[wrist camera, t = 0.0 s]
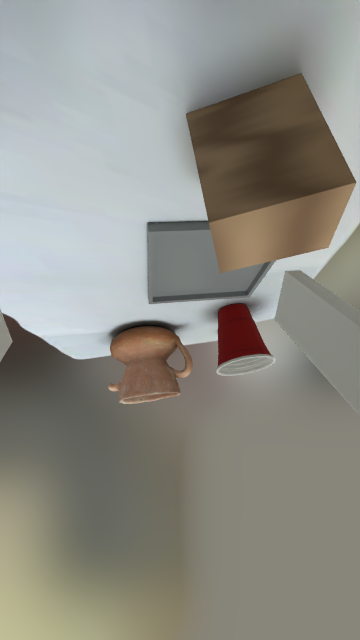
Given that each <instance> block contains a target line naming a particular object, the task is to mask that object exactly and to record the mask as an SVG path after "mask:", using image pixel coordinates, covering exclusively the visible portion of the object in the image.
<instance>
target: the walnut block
mask: <svg viewBox="0 0 360 640" xmlns="http://www.w3.org/2000/svg"><path fill="white" fill-rule="evenodd" d="M186 117H187V121H188V126H189V131H190V136H191V140H192V145H193V150H194V154H195V159H196V164H197V169H198V173H199V178H200V183H201V188H202V192H203V197H204V202H205V207H206V211H207V216H208V221H209V225H210V230H211V234H212V239H213V243H214V248H215V252H216V257H217V262H218V266H219V271H220V273H224V272H228V271H232V270H236V269H241V268H245V267H249V266H253V265H257V264H261V263H266V262H270V261H274V260H278V259H282V258H287V257H291V256H295V255H299V254H303V253H308V252H312V251H316V250H320V249H324V248H328V247H329V245H330V243H331V240H332V238H333V236H334V233H335V231H336V229H337V226H338V224H339V222H340V219H341V217H342V215H343V212H344V210H345V208H346V205H347V203H348V201H349V198H350V196H351V194H352V191H353V189H354V187H355V184H356V181H355V179H354V177H353V175H352V173H351V171H350V169H349V167H348V165H347V163H346V161H345V159H344V157H343V155H342V153H341V151H340V149H339V147H338V145H337V143H336V141H335V139H334V137H333V135H332V133H331V131H330V129H329V127H328V125H327V123H326V121H325V119H324V117H323V115H322V113H321V111H320V109H319V107H318V105H317V103H316V101H315V99H314V97H313V95H312V93H311V91H310V89H309V87H308V85H307V83H306V81H305V79H304V77H303V75H302V73H301V74H298V75H295V76H292V77H289V78H287V79H284V80H281V81H278V82H275V83H272V84H270V85H267V86H264V87H261V88H258V89H255V90H253V91H250V92H247V93H244V94H241V95H238V96H236V97H233V98H230V99H227V100H224V101H221V102H219V103H216V104H213V105H210V106H207V107H204V108H202V109H199V110H196V111H193V112H190V113H187V114H186Z"/></svg>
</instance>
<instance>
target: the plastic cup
mask: <svg viewBox="0 0 360 640" xmlns="http://www.w3.org/2000/svg"><path fill="white" fill-rule="evenodd" d="M218 349H219V350H218V353H219V355H218V367H217V370H216V373H217V374H219V375H224V376H234V375H242V374H247V373H252V372H256V371H259V370H262V369H264V368H267V367H268V366H270V365H272V364H273V363H274V362H275V361H276V360H275V358H274V357H273V356H272V355H271V354H270V353H269V351H268V349H267V347H266V346H265V344H264V342H263V340H262V338H261V335H260V333H259V331H258V329H257V326H256V324H255V322H254V320H253V319H252V316H251V314H250V312H249V309H248V308H247V306H246V305H244V304H231V305H228V306H225V307H223V308H221V309H220V310H219V312H218Z"/></svg>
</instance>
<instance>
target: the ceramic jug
mask: <svg viewBox="0 0 360 640" xmlns="http://www.w3.org/2000/svg"><path fill="white" fill-rule="evenodd" d="M177 347H179V349H180V350H181V352H182V353H183V355H184V358H185V361H186V362H185V363H186V366H185V369H184V370H182V371H178V370H175V369H173V368H171V367H169V365H168V364H167V362H166V360H167V359H168V357H169V356H170V355H171V354H172V353H173V352H174V351H175V350H176V349H177ZM110 351H111V356H112V357H114V358H116V359H117V360H119V361H121V362H123V363H124V364H126V365H127V367H126V370H125V373H124V376H123V379H122V381H121V382H119V383H118V384H115V385H114V384H110V385H109V389H110V390H111V391H118V390H120V392H119V402H120V403H121V402H122V403H123V404H130V403H131V404H132V403H141V402H148V401H155V400H159V399H162V398H167V397H172V396H177V395H180V389H179V385H178V383H177V380H176V377H177V378H183V377H186V376H188V375H189V374H190V372H191V371H192V359H191V356H190V354H189V352H188V350H187V349H186V348H185V347H184V346H183V345H182V343H181V341H180V338H179V337H178V336H177V335H176V334H175V333H174V332H172V331H170V330H168V329H165V328H162V327H156V326H141V327H135V328H131V329H128V330H126V331H124V332H122V333H120V334H118V335H117V336H116V337H115V338H114V339H113V340H112V342H111V345H110Z"/></svg>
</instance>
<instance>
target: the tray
mask: <svg viewBox="0 0 360 640" xmlns="http://www.w3.org/2000/svg"><path fill="white" fill-rule="evenodd" d="M275 261H276V260H274V261H270V262H266V263H261V264H257V265H253V266H249V267H245V268H241V269H236V270H232V271H228V272H224V273H220V271H219V266H218V262H217V257H216V252H215V248H214V243H213V239H212V234H211V230H210V225H209V221H196V222H160V223H148V300H149V304H158V303H172V302H186V301H200V300H214V299H228V298H243V297H250V296H251V294H252V293H253V292H254V290H255V289H256V287H257V286H258V285H259V283H260V282H261V280H262V279H263V278H264V276H265V275H266V274H267V272H268V271H269V269H270V268H271V267H272V265H273V264H274V262H275Z"/></svg>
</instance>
